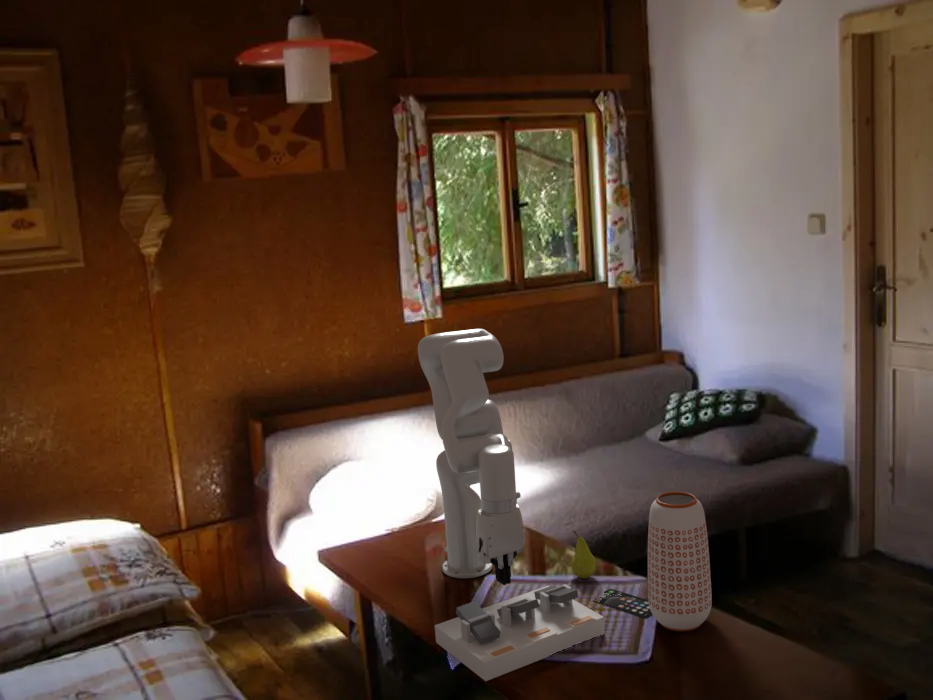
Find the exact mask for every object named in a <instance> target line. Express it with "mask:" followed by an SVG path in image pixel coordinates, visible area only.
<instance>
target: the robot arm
mask: <svg viewBox="0 0 933 700" xmlns="http://www.w3.org/2000/svg"><path fill="white" fill-rule="evenodd" d="M417 355H418V356H417V357H418V360H419V365H420V367H421V369H422V372H423V374H424V376H425V378H426V379H427V380H426V381H427V382H428V384H429V386H430V389H431V390H430V391H431V396H432V404H433V411H434V417H435V418H434V419H435V425H436V429H437V433H438V436H439V438H440V439H441V440H442V444H443V448H444V450H443V451H441V452H440V453H439V454H438V455H437V457H436V462H435V464H436V466H435V467H436V472H437V475H438V479H439V484H440V488H441V494H442V495H441V496H442V504H443V514H444V515H443V517H444V525H445V539H446V546H445V547H444V552H445V553H447V559H446V560H445V561H444V562H443V563H442V572H443V573H444V574H445V575H446V576H448V577H450V578H455V579H473V578H477V577H478V578H479V577H481V576H484V575H486V574H488V573H489V572H490V571H491V570H492V569H493V566H494V571H495V574H494V575H495V579H496V581H497V582H498V583H500V585H503V586H506V585H507V584H511V582H512V580H511V577H512V569H511V567H512V565H513V564H514V560H515V558H516V556H517V555H519V554H521V553H523V552H524V551H525V547H524V546H525V541H526V538H525V537H526V536H525V527H524V520H523V517H522V512H521V509H520V506H519V504H518V499H519V498H521V492H520V491H517V487H516V483H517V482H516V469H515V468H516V467H515V466H516V465H515V456H514V455H515V454H514V450H513V445H512V444H513V443H512V442H511V440H510V439H509V438H508V436H506V435H505V434H504V430H503V425H502V418H501V414H500V410H499V408H498V405H497V404H496V402H494V401H493V400H492V399H489V398H490V397H489V396H490V394H489V392H490V391H489V388H488V386H487V383H486V379H485V376H484V373H490V372H491V373H493V372H497V371H499V370H501V369H502V367H503V365H504V359H505V358H504V351H503V348H502V345H501V343H500V342H499V340H498V338H496V336H495V335H493V334H492V333H490V332H489V331H487V330H486V329H484V328H473V329H472V328H471V329H465V330H464V329H463V330H455V331H453V330H452V331H445V332H437V333H434V334H430V335H426V336H424V337H423V338H421V339H420V340H419V342H418V344H417ZM476 484H479V487H480V488H479V491H480V496H479V494H478V493H477V492H476V491H475V489H473V488H472V487H471V486H472V485H476Z"/></svg>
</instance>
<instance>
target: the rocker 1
mask: <svg viewBox="0 0 933 700" xmlns="http://www.w3.org/2000/svg"><path fill="white" fill-rule="evenodd" d="M455 614H456V616H457V617H459V618H460V619H461V620H465V621H467V622H468V623H469V624H470V631H471V633H472V634H473V635H474V637H475V638H476V639H477V640H478V642H479V643H480V644H484V643H487V642H489V641H492V640H495V639H497V638H500V633H501V632H500V630H499V629H498V628H497V627H496V626H495V624H494V623H493V622H492V621H491V620H490V618H489V615H488V614H487V613H486V614H485V612H484V611H483V610H482V607H480V605H479V604H478V603H477V601H475V600H474V601H471V602H468V603H465V604H462V605H460V606H456V610H455Z"/></svg>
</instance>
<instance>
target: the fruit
mask: <svg viewBox="0 0 933 700" xmlns="http://www.w3.org/2000/svg"><path fill="white" fill-rule="evenodd" d="M572 533H573V534H575V535H576V545H575V553H574V555H573V558H572V560H571V569H572V572H573V573H574V574H575V575H576V577H578V578H581V579H588V578H590V577H591V576H592V575H593V574H594V572H595V570H596V566H597V563H596V559H595V557H594V556H593V554H592V552H591V550H590V548H589V546H588V544H587V542H586V540H585V539H584V538H583V537H581V536H579V535H578V534H577V532H576V531H575V530H573V531H572Z"/></svg>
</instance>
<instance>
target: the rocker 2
mask: <svg viewBox="0 0 933 700" xmlns="http://www.w3.org/2000/svg"><path fill="white" fill-rule="evenodd" d="M506 607H507V608H509V609H511V615H514V614H520V613H524V612H526V611H529V610H532V609H535V608H537V607H539V603H538V600H537V599H536V600H530V601H526V599H523V600H520V601H517V602H514V603H512V604H509V605H506ZM497 612H498V615H499V617H501V616H502V612H501V608H500V609H497Z"/></svg>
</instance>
